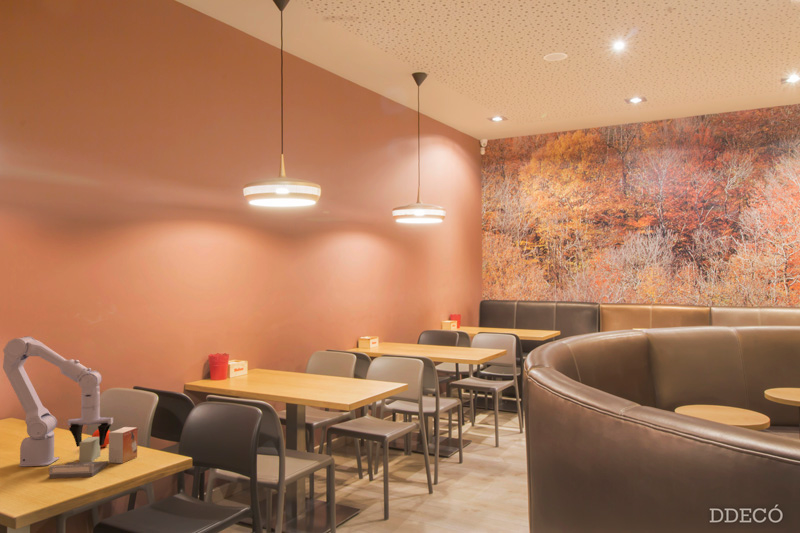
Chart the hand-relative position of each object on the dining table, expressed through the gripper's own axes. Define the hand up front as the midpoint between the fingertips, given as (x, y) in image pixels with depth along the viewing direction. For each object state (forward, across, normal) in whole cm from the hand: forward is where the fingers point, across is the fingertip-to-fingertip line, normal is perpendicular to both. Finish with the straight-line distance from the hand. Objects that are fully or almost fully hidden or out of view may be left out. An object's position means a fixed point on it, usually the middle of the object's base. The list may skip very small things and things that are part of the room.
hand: (90, 445), depth 196 cm
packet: (+5, 0, 0) cm, 5 cm away
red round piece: (+5, +2, -16) cm, 17 cm away
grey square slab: (+5, -2, +13) cm, 14 cm away
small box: (+5, -12, +2) cm, 13 cm away
